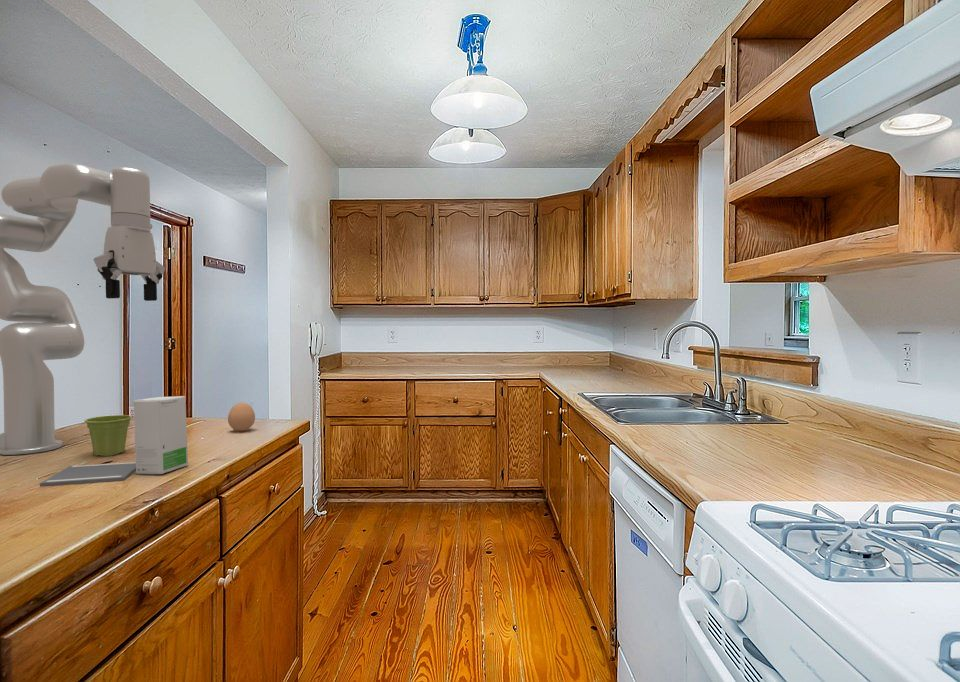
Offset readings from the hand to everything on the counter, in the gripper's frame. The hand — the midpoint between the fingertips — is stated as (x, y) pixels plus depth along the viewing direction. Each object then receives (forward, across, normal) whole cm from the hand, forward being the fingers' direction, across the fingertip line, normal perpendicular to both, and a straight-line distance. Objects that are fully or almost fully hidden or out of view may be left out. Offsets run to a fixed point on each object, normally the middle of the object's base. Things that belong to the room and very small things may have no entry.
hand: (132, 299), depth 120 cm
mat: (+37, +11, +2) cm, 39 cm away
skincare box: (+37, +5, +12) cm, 40 cm away
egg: (+37, -36, 0) cm, 52 cm away
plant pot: (+37, -4, -12) cm, 39 cm away
